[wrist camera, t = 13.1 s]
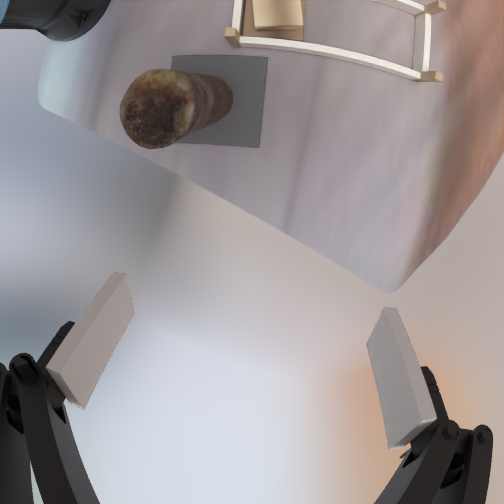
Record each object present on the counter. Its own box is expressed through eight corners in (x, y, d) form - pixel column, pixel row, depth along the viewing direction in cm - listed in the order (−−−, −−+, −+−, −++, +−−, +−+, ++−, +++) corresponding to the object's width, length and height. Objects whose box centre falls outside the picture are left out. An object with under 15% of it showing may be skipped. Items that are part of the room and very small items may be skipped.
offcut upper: (256, 31, 30) (254, 26, 27) (252, -10, 26) (250, -17, 24) (301, 30, 29) (303, 25, 27) (296, -11, 26) (298, -18, 23)
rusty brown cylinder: (194, 131, 40) (136, 163, 23) (175, 90, 37) (102, 94, 19) (241, 111, 38) (213, 124, 21) (221, 68, 35) (176, 47, 17)
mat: (169, 142, 41) (168, 142, 41) (173, 56, 34) (172, 56, 34) (259, 147, 41) (258, 148, 41) (267, 57, 34) (267, 57, 33)
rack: (233, 46, 33) (224, 36, 26) (241, -25, 26) (234, -46, 19) (416, 81, 32) (442, 81, 26) (421, 13, 26) (445, 3, 19)
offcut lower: (244, 39, 33) (242, 35, 30) (249, -10, 28) (247, -17, 26) (300, 44, 33) (302, 40, 30) (304, -6, 28) (306, -12, 25)
